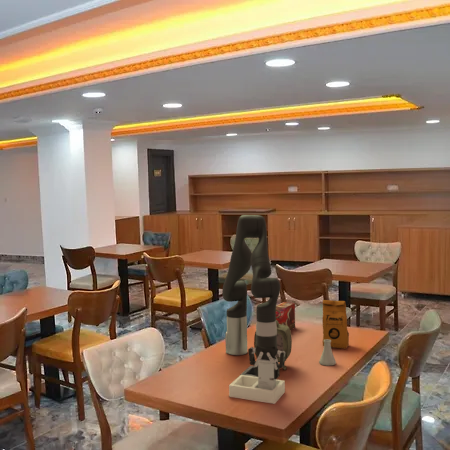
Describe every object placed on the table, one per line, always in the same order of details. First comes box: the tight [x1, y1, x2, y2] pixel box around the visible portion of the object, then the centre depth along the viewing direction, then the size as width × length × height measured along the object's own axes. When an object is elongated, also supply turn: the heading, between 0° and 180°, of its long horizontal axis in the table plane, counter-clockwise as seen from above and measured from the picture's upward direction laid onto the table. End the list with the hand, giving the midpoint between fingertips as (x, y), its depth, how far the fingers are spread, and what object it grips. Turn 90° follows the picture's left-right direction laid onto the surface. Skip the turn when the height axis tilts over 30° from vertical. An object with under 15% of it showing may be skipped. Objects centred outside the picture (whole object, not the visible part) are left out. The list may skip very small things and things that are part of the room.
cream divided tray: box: [228, 374, 286, 405], centre depth 196 cm, size 18×11×4 cm, turn 65°
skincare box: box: [258, 359, 277, 390], centre depth 194 cm, size 6×4×12 cm
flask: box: [318, 339, 337, 367], centre depth 228 cm, size 7×7×10 cm
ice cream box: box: [276, 301, 296, 331], centre depth 277 cm, size 20×6×13 cm, turn 147°
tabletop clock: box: [253, 309, 293, 371], centre depth 224 cm, size 14×9×25 cm, turn 70°
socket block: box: [239, 365, 257, 377], centre depth 210 cm, size 10×11×4 cm
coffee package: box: [321, 299, 350, 350], centre depth 250 cm, size 10×12×22 cm
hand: (267, 377), depth 194 cm, fingers closed on skincare box, 6 cm apart
